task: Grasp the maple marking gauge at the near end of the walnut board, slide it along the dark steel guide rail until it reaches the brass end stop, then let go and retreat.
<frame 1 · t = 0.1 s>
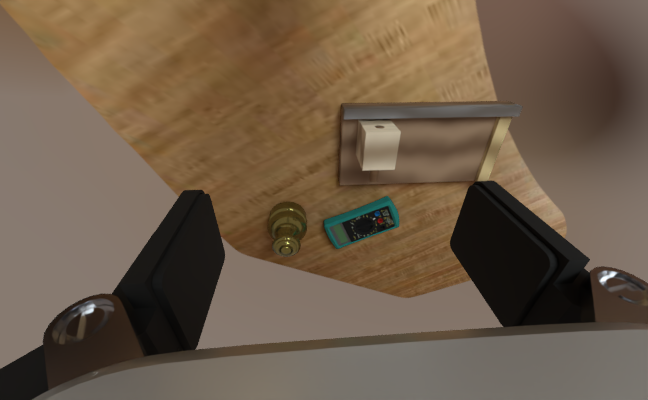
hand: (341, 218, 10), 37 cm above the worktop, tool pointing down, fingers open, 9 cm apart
brass pawn finial: (288, 215, 55), on the worktop
board: (418, 142, 48), on the worktop
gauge: (372, 137, 45), point 2 cm above the worktop, touching board
digital multimeter: (359, 218, 58), on the worktop
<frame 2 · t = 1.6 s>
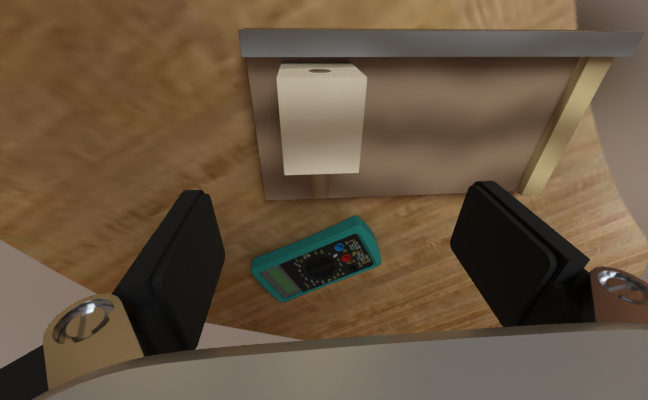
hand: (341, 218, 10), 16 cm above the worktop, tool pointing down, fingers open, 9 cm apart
board: (413, 119, 25), on the worktop
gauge: (316, 104, 22), point 2 cm above the worktop, touching board
digital multimeter: (315, 252, 34), on the worktop
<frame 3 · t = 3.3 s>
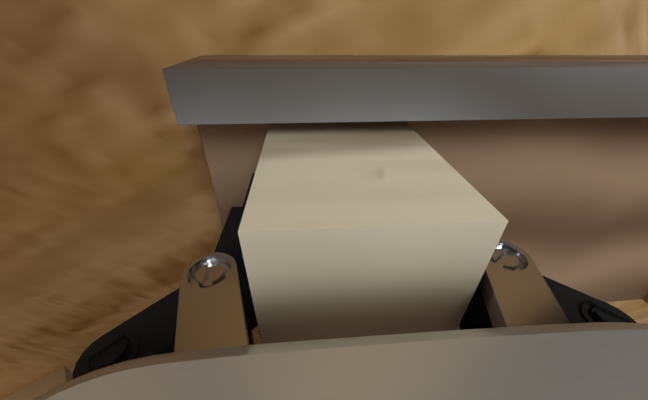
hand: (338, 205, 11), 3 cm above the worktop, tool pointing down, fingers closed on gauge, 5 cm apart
board: (493, 199, 15), on the worktop
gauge: (336, 192, 12), point 2 cm above the worktop, touching board, gripper
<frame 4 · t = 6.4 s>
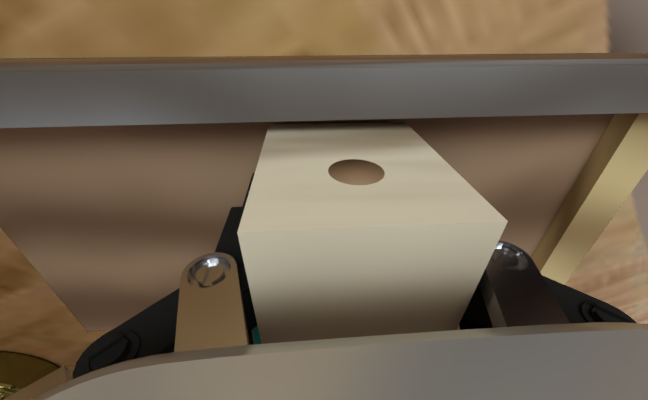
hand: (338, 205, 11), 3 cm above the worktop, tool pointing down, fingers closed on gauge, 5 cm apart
brass pawn finial: (21, 371, 22), on the worktop
board: (323, 202, 15), on the worktop
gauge: (335, 192, 12), point 2 cm above the worktop, touching gripper
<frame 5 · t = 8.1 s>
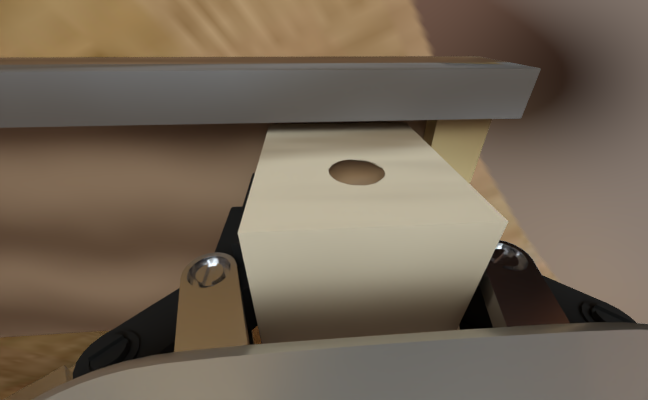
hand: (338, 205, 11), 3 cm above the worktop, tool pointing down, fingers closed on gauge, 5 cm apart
board: (175, 209, 14), on the worktop
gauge: (335, 193, 12), point 2 cm above the worktop, touching gripper
when the fingers open (3 cm above the worktop, at t = 9.4 s): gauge stays where it is, resting on board.
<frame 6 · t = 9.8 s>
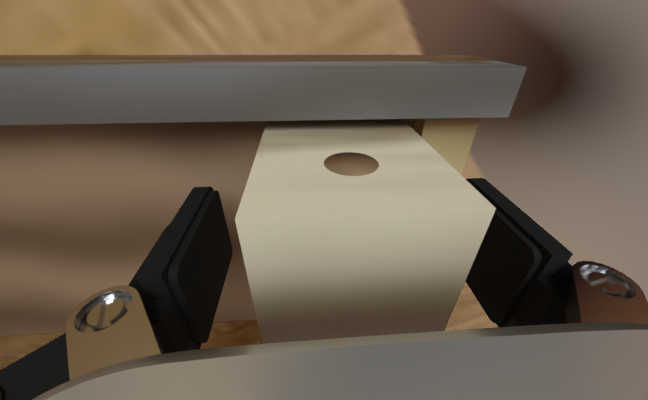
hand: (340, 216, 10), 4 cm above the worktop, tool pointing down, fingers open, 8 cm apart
board: (165, 208, 14), on the worktop
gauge: (333, 188, 12), point 2 cm above the worktop, touching board
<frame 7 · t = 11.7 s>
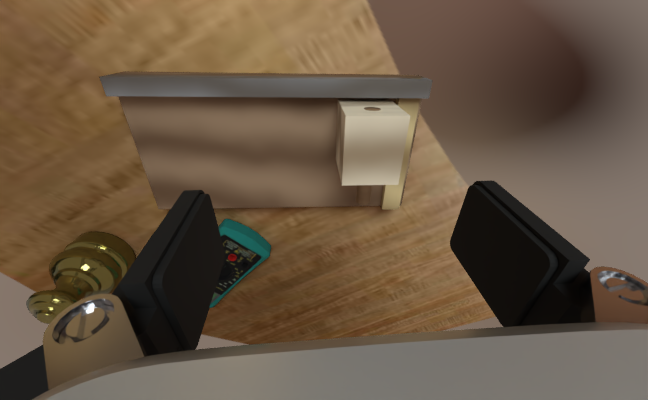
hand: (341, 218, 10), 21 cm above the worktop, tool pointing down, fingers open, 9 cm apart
brass pawn finial: (107, 250, 37), on the worktop
board: (280, 143, 30), on the worktop
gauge: (361, 130, 27), point 2 cm above the worktop, touching board
digital multimeter: (221, 258, 39), on the worktop
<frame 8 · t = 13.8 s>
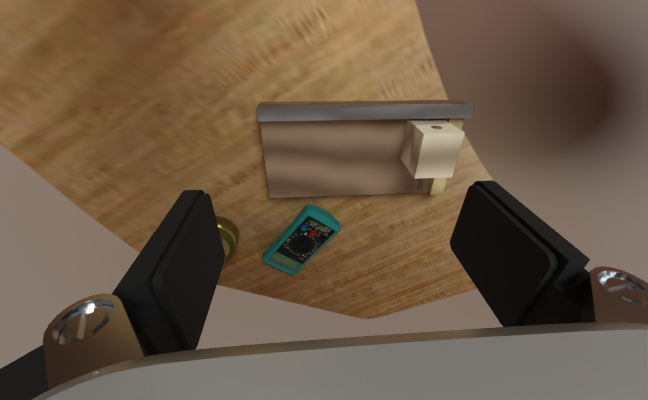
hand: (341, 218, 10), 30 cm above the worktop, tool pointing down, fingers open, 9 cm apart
brass pawn finial: (218, 231, 48), on the worktop
board: (359, 148, 41), on the worktop
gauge: (420, 139, 39), point 2 cm above the worktop, touching board
digital multimeter: (300, 236, 51), on the worktop
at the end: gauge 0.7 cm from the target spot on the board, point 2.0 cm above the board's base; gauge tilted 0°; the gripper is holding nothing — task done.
